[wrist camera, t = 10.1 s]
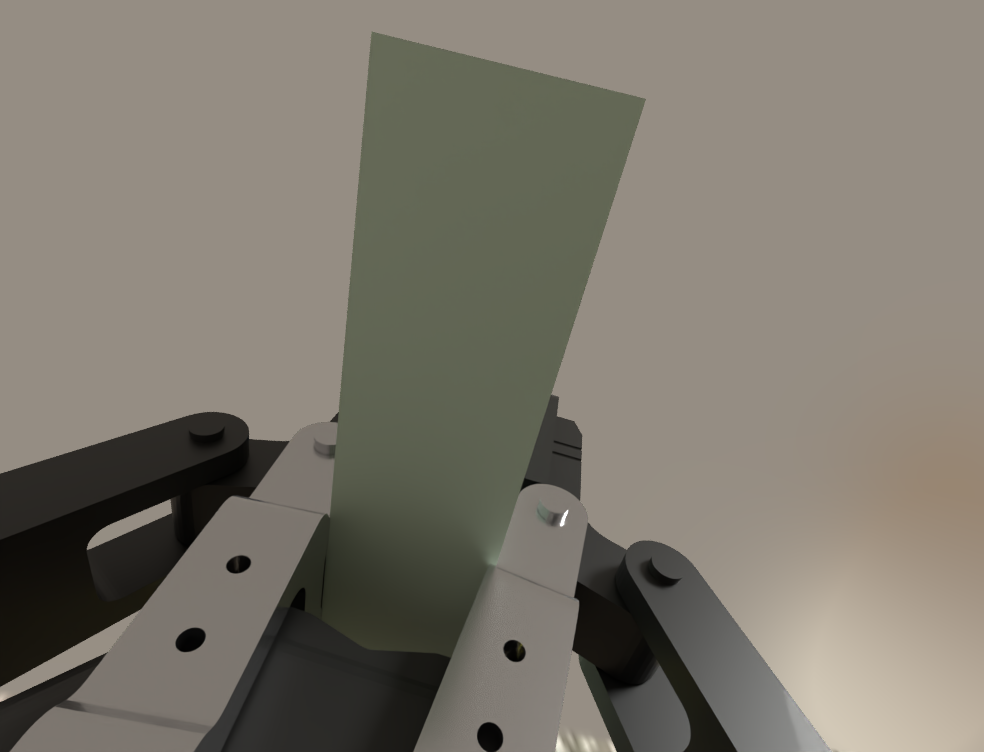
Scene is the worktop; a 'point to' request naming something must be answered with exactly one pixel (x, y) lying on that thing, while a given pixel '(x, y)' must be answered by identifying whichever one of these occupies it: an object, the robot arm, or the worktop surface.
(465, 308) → the pale green rectangular board
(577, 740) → the worktop surface
